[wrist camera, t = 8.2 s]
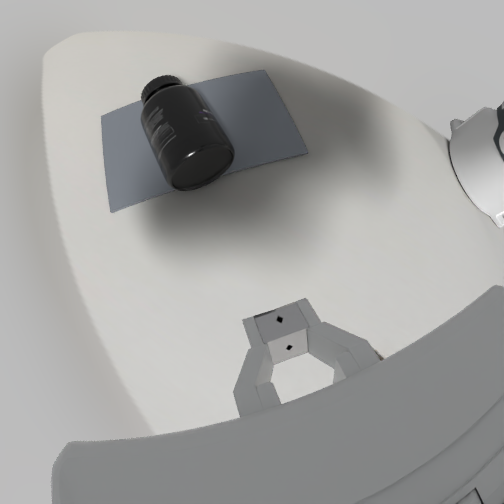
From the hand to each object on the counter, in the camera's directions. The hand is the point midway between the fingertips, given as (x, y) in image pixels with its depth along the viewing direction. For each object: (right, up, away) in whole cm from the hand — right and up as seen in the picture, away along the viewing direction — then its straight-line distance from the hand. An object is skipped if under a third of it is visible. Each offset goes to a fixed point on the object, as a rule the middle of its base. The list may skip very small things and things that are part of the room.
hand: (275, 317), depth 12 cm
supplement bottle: (-5, +10, +11) cm, 16 cm away
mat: (-8, +17, +16) cm, 25 cm away
